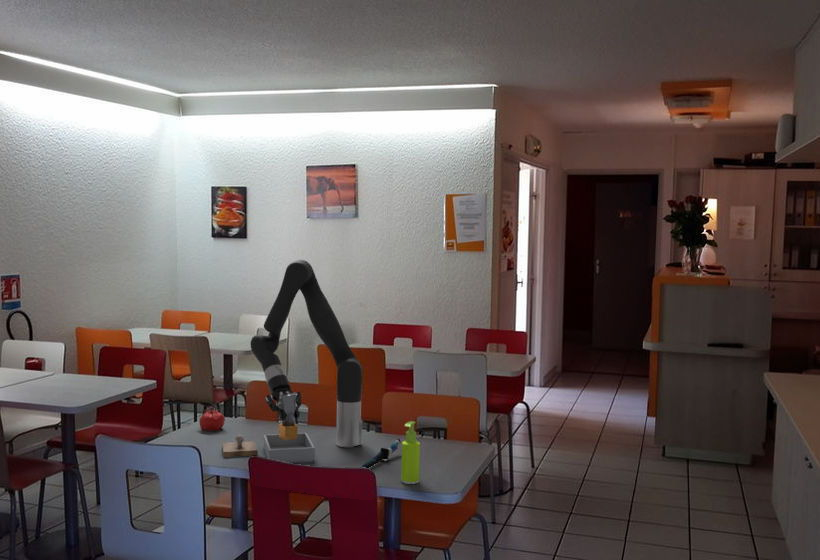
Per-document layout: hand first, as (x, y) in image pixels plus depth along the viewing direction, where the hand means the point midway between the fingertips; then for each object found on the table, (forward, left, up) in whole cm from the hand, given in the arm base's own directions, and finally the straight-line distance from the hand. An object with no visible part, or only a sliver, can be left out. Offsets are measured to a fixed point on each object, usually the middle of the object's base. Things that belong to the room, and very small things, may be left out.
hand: (290, 418), depth 279 cm
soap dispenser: (-34, +37, -14) cm, 53 cm away
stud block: (+18, -9, -14) cm, 24 cm away
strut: (+1, -2, -8) cm, 8 cm away
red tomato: (+27, -44, -14) cm, 53 cm away
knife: (-29, +15, -14) cm, 36 cm away
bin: (+1, -2, -14) cm, 14 cm away
